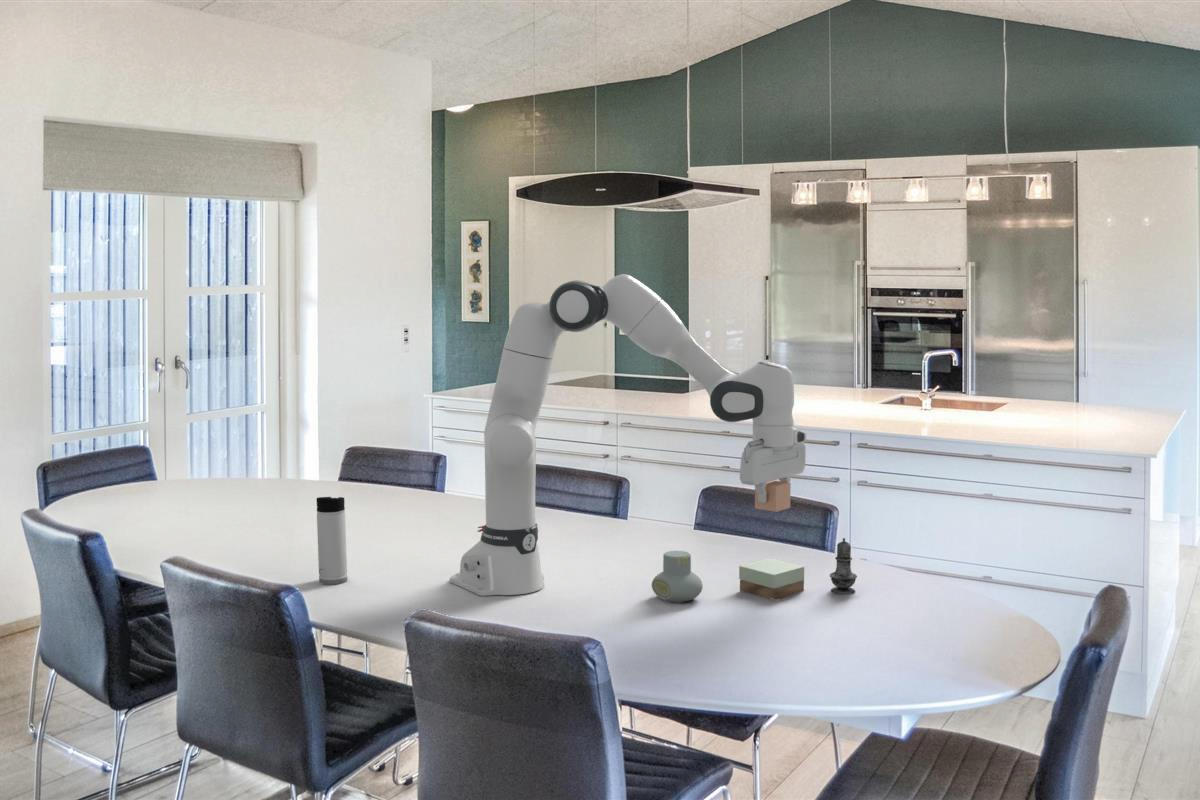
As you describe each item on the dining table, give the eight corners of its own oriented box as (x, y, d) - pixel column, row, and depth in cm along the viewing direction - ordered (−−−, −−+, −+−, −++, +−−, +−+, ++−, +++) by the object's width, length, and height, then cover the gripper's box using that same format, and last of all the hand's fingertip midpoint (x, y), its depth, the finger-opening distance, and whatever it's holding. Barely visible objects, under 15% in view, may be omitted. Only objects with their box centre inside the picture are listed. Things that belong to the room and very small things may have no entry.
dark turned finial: (859, 595, 251) (860, 540, 249) (832, 595, 251) (833, 541, 249) (853, 587, 256) (854, 534, 255) (827, 587, 257) (828, 534, 255)
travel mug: (314, 584, 261) (311, 498, 259) (325, 577, 268) (322, 492, 265) (340, 586, 260) (337, 498, 258) (351, 578, 267) (348, 492, 264)
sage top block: (739, 579, 255) (739, 565, 254) (769, 571, 261) (769, 558, 261) (773, 588, 247) (774, 574, 247) (804, 580, 254) (804, 566, 253)
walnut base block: (739, 593, 254) (739, 580, 254) (766, 584, 261) (766, 571, 261) (777, 602, 247) (778, 588, 247) (803, 592, 255) (803, 579, 254)
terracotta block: (754, 508, 252) (755, 483, 251) (769, 504, 256) (769, 479, 255) (775, 511, 248) (776, 486, 248) (790, 507, 252) (790, 482, 252)
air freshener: (708, 602, 246) (708, 556, 245) (677, 608, 242) (677, 562, 241) (676, 590, 255) (676, 545, 254) (646, 596, 251) (646, 551, 250)
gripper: (757, 443, 241) (756, 509, 242) (810, 432, 256) (810, 494, 257) (732, 440, 245) (732, 505, 247) (786, 430, 260) (786, 490, 261)
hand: (772, 499), depth 252 cm, fingers closed on terracotta block, 5 cm apart
